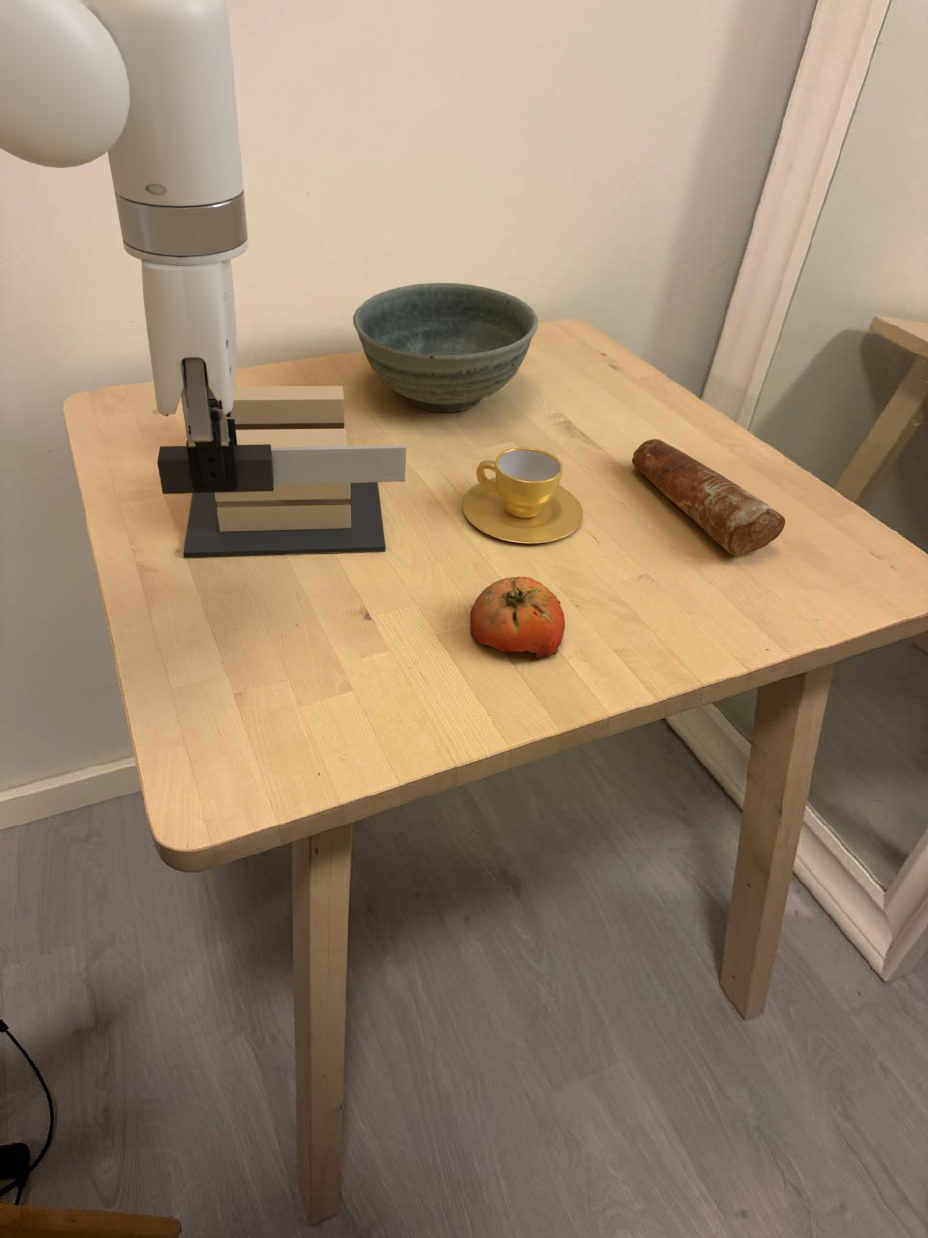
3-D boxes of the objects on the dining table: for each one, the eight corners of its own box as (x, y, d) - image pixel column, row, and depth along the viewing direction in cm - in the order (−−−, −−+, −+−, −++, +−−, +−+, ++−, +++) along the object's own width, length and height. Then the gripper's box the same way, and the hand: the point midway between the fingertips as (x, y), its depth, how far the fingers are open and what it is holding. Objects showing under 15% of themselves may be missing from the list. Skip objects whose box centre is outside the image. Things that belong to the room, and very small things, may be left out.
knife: (162, 494, 66) (156, 458, 64) (165, 478, 68) (159, 443, 66) (406, 487, 69) (407, 453, 67) (403, 472, 71) (404, 438, 69)
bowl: (551, 432, 102) (563, 348, 96) (368, 444, 98) (367, 356, 92) (503, 354, 118) (510, 277, 111) (343, 361, 113) (341, 281, 107)
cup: (593, 493, 93) (601, 447, 90) (567, 558, 84) (575, 509, 81) (481, 469, 95) (485, 423, 92) (445, 529, 87) (448, 481, 83)
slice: (228, 452, 94) (222, 399, 90) (230, 438, 96) (224, 386, 92) (345, 451, 95) (344, 398, 91) (344, 437, 98) (342, 385, 94)
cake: (183, 558, 81) (173, 495, 76) (200, 454, 94) (191, 396, 90) (385, 551, 83) (386, 490, 79) (373, 451, 97) (373, 395, 93)
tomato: (447, 594, 76) (511, 542, 74) (498, 622, 81) (559, 573, 78) (473, 668, 72) (542, 615, 69) (525, 692, 76) (592, 644, 74)
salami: (728, 570, 84) (744, 521, 81) (619, 469, 97) (629, 422, 94) (781, 556, 87) (798, 507, 83) (668, 459, 99) (679, 413, 96)
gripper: (135, 182, 61) (173, 427, 73) (101, 266, 49) (154, 543, 61) (248, 184, 62) (268, 425, 74) (243, 267, 50) (268, 539, 62)
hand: (216, 477), depth 67 cm, fingers closed on knife, 2 cm apart
